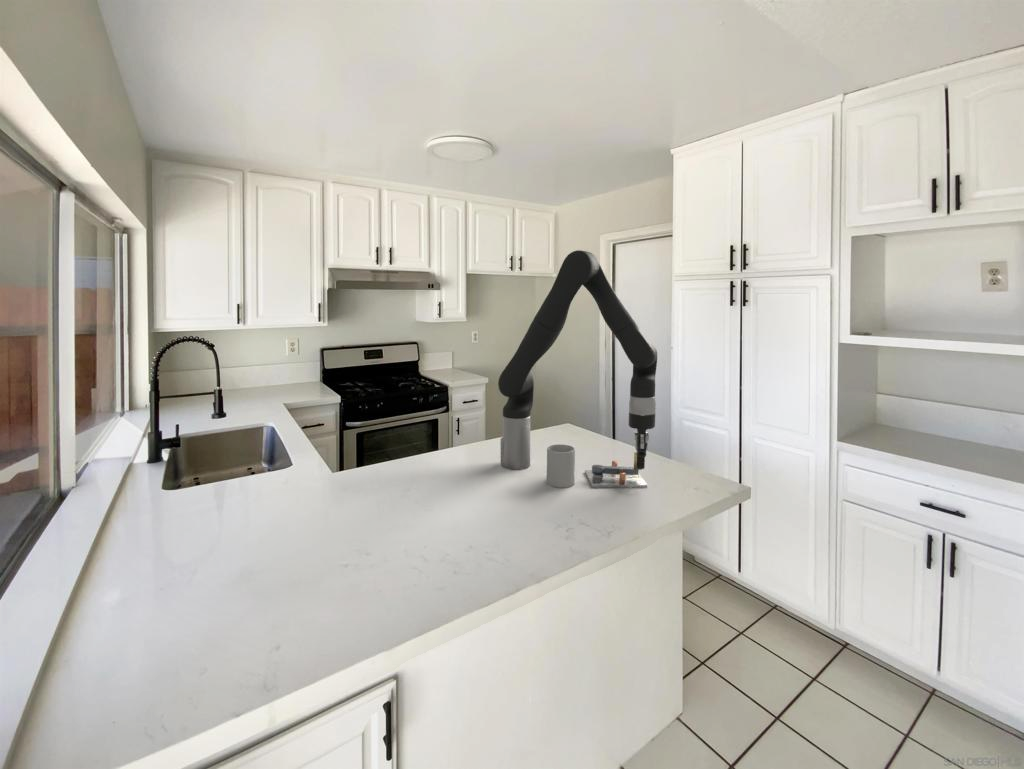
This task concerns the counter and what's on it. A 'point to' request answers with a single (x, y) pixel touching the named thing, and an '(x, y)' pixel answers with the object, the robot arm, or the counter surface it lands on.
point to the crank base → (614, 479)
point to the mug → (560, 466)
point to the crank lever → (616, 469)
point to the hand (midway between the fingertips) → (640, 468)
